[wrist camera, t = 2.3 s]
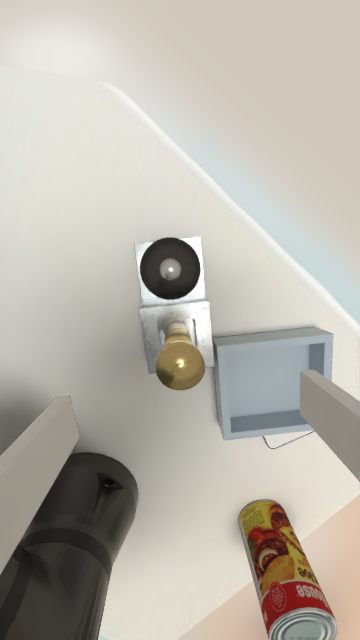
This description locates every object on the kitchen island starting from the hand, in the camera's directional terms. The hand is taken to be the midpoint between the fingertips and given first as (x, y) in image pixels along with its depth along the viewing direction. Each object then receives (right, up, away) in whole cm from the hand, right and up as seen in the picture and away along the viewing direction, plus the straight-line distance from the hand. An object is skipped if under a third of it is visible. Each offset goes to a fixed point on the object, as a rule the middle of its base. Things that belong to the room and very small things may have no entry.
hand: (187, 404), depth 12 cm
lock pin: (-1, +3, +15) cm, 16 cm away
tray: (+12, -3, +18) cm, 22 cm away
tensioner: (-1, +7, +16) cm, 17 cm away
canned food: (+13, -28, +24) cm, 39 cm away
